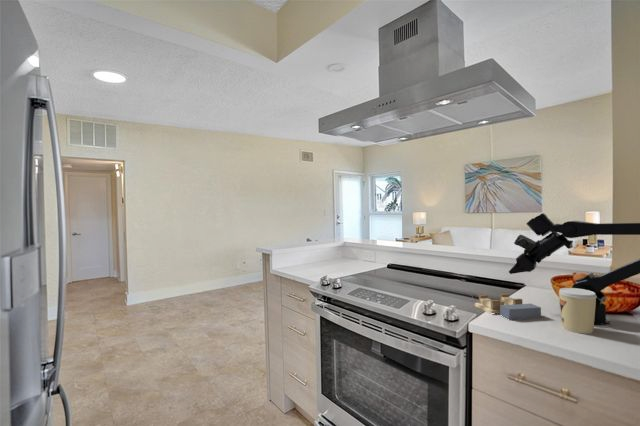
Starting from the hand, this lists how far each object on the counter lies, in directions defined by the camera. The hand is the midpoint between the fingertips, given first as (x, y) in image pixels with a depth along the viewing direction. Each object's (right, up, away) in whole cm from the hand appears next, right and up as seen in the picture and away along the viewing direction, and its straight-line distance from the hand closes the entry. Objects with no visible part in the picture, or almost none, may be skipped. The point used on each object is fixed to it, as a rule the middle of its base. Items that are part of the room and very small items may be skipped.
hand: (512, 269), depth 126 cm
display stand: (-7, -14, -5) cm, 17 cm away
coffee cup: (+5, -15, -25) cm, 30 cm away
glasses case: (-5, -15, -13) cm, 21 cm away
